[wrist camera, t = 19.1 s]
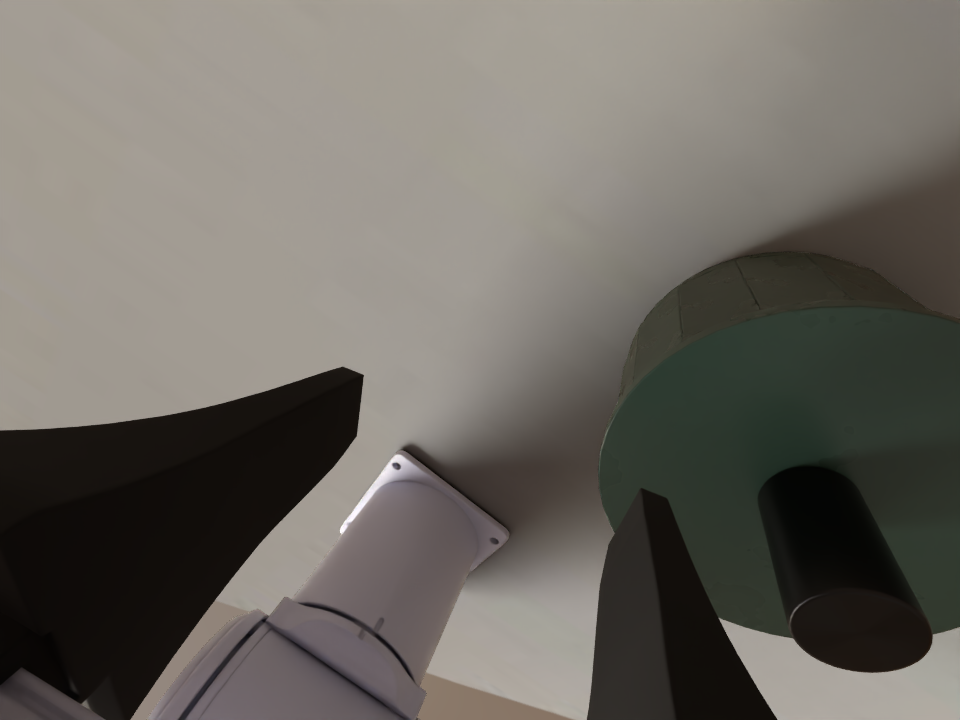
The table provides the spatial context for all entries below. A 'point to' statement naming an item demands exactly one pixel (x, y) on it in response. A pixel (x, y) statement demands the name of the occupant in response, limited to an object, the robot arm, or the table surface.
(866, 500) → the lid
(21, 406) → the table surface
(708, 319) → the green faceted bucket
